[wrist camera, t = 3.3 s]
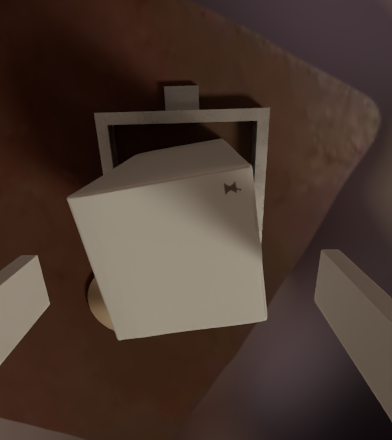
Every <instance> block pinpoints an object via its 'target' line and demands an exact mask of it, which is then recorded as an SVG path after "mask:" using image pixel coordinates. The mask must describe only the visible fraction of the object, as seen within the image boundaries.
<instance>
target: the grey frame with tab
mask: <svg viewBox="0 0 392 440" xmlns="http://www.w3.org/2000/svg"><path fill="white" fill-rule="evenodd" d="M164 94H165V110H166V111H144V112H110V113H94V117H95V123H96V130H97V137H98V143H99V150H100V157H101V163H102V170H103V175H104V174H106V173H108V172H109V171H111V170H112V169H114V168H116V167H117V166H119V160H118V153H117V145H116V137H115V129H114V125H127V124H161V123H196V122H230V121H253V130H252V152H251V166H252V169H253V177H254V187H255V197H256V208H257V218H258V227H259V238H260V244H261V239H262V223H263V208H264V192H265V177H266V161H267V146H268V130H269V115H270V108H246V109H212V110H199V85H195V86H164Z"/></svg>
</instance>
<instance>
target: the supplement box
mask: <svg viewBox="0 0 392 440" xmlns="http://www.w3.org/2000/svg"><path fill="white" fill-rule="evenodd" d="M67 201H68V203H69V206H70V209H71V211H72V214H73V217H74V220H75V222H76V225H77V228H78V231H79V234H80V236H81V239H82V242H83V245H84V248H85V250H86V253H87V256H88V259H89V262H90V264H91V267H92V270H93V273H94V275H95V278H96V281H97V284H98V287H99V289H100V292H101V295H102V298H103V301H104V303H105V306H106V309H107V311H108V314H109V317H110V319H111V322H112V325H113V328H114V331H115V334H116V337H117V339H118V340H123V339H131V338H141V337H148V336H155V335H161V334H167V333H174V332H182V331H190V330H198V329H206V328H214V327H224V326H232V325H240V324H247V323H254V322H260V321H265V320H266V319H267V308H266V298H265V288H264V278H263V267H262V249H261V244H260V238H259V227H258V218H257V208H256V197H255V187H254V177H253V169H252V166H251V165H250V164H249V163H248V162H247V161H246V160H245V159H244V158H243V157H242V156H240V155H239V154H238V153H237V152H236V151H235V150H234V149H233V148H232V147H231V146H230V145H229V144H228V143H226V142H225V141H224V140H223V139H215V140H210V141H204V142H199V143H193V144H187V145H182V146H176V147H170V148H165V149H159V150H154V151H149V152H144V153H140V154H137V155H135V156H133V157H131V158H130V159H128V160H127V161H125V162H123V163H122V164H120V165H119V166H117V167H116V168H114V169H112V170H111V171H109V172H108V173H106V174H104V175H103V176H101V177H100V178H98V179H96V180H95V181H93V182H91V183H90V184H88V185H86V186H85V187H83V188H82V189H80V190H78V191H77V192H75V193H73V194H72V195H70V196H68V197H67Z"/></svg>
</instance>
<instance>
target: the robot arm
mask: <svg viewBox="0 0 392 440" xmlns="http://www.w3.org/2000/svg"><path fill="white" fill-rule="evenodd" d="M314 301H315V303H316V304H317V306H318V307H319V309H320V311H321V312H322V314H323V315H324V317H325V318H326V320H327V321H328V323H329V325H330V326H331V328H332V329H333V331H334V332H335V334H336V335H337V337H338V338H339V340H340V341H341V343H342V345H343V346H344V348H345V349H346V351H347V352H348V354H349V356H350V357H351V359H352V360H353V362H354V363H355V365H356V366H357V368H358V370H359V371H360V373H361V374H362V376H363V377H364V379H365V380H366V382H367V383H368V385H369V387H370V388H371V390H372V391H373V393H374V394H375V396H376V398H377V399H378V401H379V402H380V404H381V405H382V407H383V408H384V410H385V412H386V413H387V415H388V416H389V418H390V419H391V421H392V298H391V297H390V296H388V295H387V294H386V293H385V292H384V291H383V290H382V289H381V288H380V287H379V286H378V285H377V284H376V283H375V282H373V281H372V280H371V279H370V278H369V277H368V276H367V275H366V274H365V273H364V272H362V271H361V270H360V269H359V268H358V267H357V266H356V265H355V264H354V263H353V262H352V261H350V260H349V259H348V258H347V257H346V256H345V255H344V254H343V253H342V252H341V251H339V250H322V251H321V257H320V263H319V270H318V276H317V284H316V290H315V297H314ZM49 305H50V302H49V299H48V295H47V291H46V287H45V283H44V279H43V275H42V271H41V268H40V264H39V260H38V256H37V255H21V256H20V257H18V258H17V259H16V260H14V261H13V262H12V263H10V264H9V265H8V266H6V267H5V268H4V269H2V270H1V271H0V365H1V363H2V362H3V361H4V360H5V359H6V357H7V356H8V355H9V354H10V352H11V351H12V350H13V349H14V348H15V346H16V345H17V344H18V343H19V341H20V340H21V339H22V338H23V337H24V335H25V334H26V333H27V332H28V331H29V329H30V328H31V327H32V326H33V324H34V323H35V322H36V321H37V320H38V318H39V317H40V316H41V315H42V313H43V312H44V311H45V310H46V309H47V307H48V306H49Z"/></svg>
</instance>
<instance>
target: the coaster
mask: <svg viewBox="0 0 392 440" xmlns="http://www.w3.org/2000/svg"><path fill="white" fill-rule="evenodd" d="M88 303H89V307H90V309H91V311H92V313H93V314H94V316H95V317H96V318H97V319H98V320H99V321H100V322H101V323H102V324H103V325H105V326H106V327H108V328H109V329H112V330H114V328H113V325H112V322H111V319H110V317H109V314H108V311H107V309H106V306H105V303H104V301H103V298H102V295H101V292H100V289H99V287H98V284H97V281H96V278H95V277H94V279H93V280H92V282H91V284H90V286H89V290H88Z"/></svg>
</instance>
